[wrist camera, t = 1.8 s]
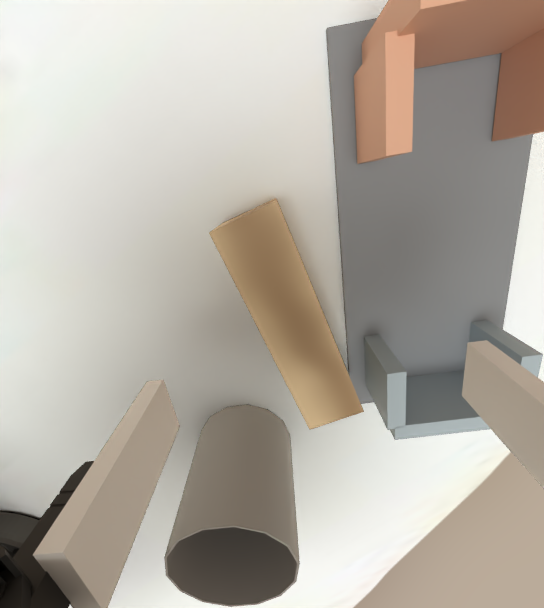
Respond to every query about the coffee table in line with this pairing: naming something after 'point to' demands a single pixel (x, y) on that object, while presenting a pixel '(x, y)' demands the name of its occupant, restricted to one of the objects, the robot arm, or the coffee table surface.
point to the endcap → (444, 49)
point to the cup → (237, 512)
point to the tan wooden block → (287, 312)
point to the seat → (426, 241)
